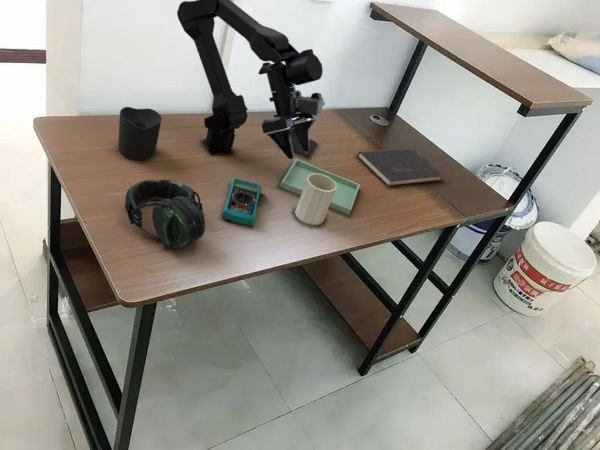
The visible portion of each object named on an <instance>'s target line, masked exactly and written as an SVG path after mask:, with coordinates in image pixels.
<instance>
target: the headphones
mask: <svg viewBox="0 0 600 450" xmlns="http://www.w3.org/2000/svg"><path fill="white" fill-rule="evenodd" d="M196 198H197V200H196ZM147 200H156V201H149V202H147V203H144V204H141V205H139V204H140V203H141V202H143V201H147ZM157 200H168V201H157ZM124 201H125V202H124V209H125V211H126V214H127V217H128V220H129V221H130V225H135V226H136V227H137V228H139V229H140V230H141V231H142V232H143V233H144V234H146V235H147V236H149V237H150V238H153V239H155V240H158V241H159V242H162V243H163V244H164V245H165V246H166V247H167V248H168V249H175V248H180V247H183V246H185V245H186V244H188V243H189V242H191V241H193V240H198V239H201V238H203V236H204V234H205V232H206V231H205V230H206V219H205V215H204V208H203V203H202V202H201V198H200V195H199V193H197V192H196V191H195V190H194V189H193V188H191V187H190V186H189V185H186V184H184V183H181V182H179V181H175V180H172V179H164V178H157V179H156V178H155V179H146V180H142V181H140V182H139V181H138V182H136V183H134V185H132V186H130V187H129V189H127V191H126V193H125V198H124ZM138 205H139V206H138ZM149 207H153V208H152V211H151V221H152V224H153V227H154V228H153V229H154V230H155V232H156V234H157V236H158V237H159V238H158V237H156V236H154V235H152V234H151V233H149V232H147V231H146V230H145V229H144V228H143V222H142V221H143V217H142V216H143V212H142V210H143V209H145V208H149Z"/></svg>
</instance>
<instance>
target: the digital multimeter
mask: <svg viewBox="0 0 600 450" xmlns="http://www.w3.org/2000/svg"><path fill="white" fill-rule="evenodd" d="M261 191H262V186H261V184H258V183H255V182H252V181H249V180H245V179H241V178H237V177H235V178H234V177H233V178H232V180H231V184H230V189H229V193H228V196H227V200H226V202H225V205H224V207H223V211H222V215H221V217H222V218H223V219H225V220H228V221H231V222H234V223H237V224H240V225H241V224H242V225H249V226H254V225H255V221H256V215H257V208H258V202H259V197H260V194H261Z"/></svg>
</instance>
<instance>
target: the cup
mask: <svg viewBox="0 0 600 450" xmlns="http://www.w3.org/2000/svg"><path fill="white" fill-rule="evenodd" d="M336 187H337V185H336V183H335V181H334V180H332V179H331V178H330V177H328V176H326V175H323V174H318V173H312V174H310V175H308V177H307V180H306V183H305V185H304V188H303V191H302V194H301V195H300V197H299V199H298V203H297V205H296V208H295V211H294V213H295V216H296V217H297V219H299V220H300V221H301V222H303V223H305V224H308V225H311V226H312V225H313V226H314V225H315V226H316V225H317V226H318V225H320V224H322V223H324V220H325V217H326V215H327V213H328V210H329V208H330V207H329V205H330V203H331V201H332V198H333V196H334V193H335V191H336Z"/></svg>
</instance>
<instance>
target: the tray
mask: <svg viewBox="0 0 600 450" xmlns="http://www.w3.org/2000/svg"><path fill="white" fill-rule="evenodd" d="M312 173H318V174H323V175H326V176H328V177H330V178H331V179H332V180H334V181H335V183H336V185H337V187H336V191H335V193H334V196H333V198H332V201H331V203H330V205H329V208H331V209H333V210H335V211H339V212H341V213H343V214H346V215H348V216H349V215H350V214H351V211H352V209H353V207H354V203H355V201H356V198H357V195H358V192H359V189H360V187H361V184H360V183H357V182H355V181H352V180H350V179H347V178H345V177H342V176H340V175H337V174H335V173H332V172H330V171H327V170H325V169H323V168H321V167H317V166H315V165H313V164H310V163H308V162H306V161H303V160H300V159H299V158H295V160H294V161H293V162H292V164H291V165H290V167H289V169H288V170H287V172H286V173H285V174H284V177H283V179H282V180H281V182H280V185H279V187H280V188H281V189H282V188H283V189H285V190H287V191H289V192H292V193H294V194H297V195H300V196H301V194H302V191H303V188H304V185H305V183H306V180H307V177H308V175H310V174H312Z"/></svg>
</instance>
